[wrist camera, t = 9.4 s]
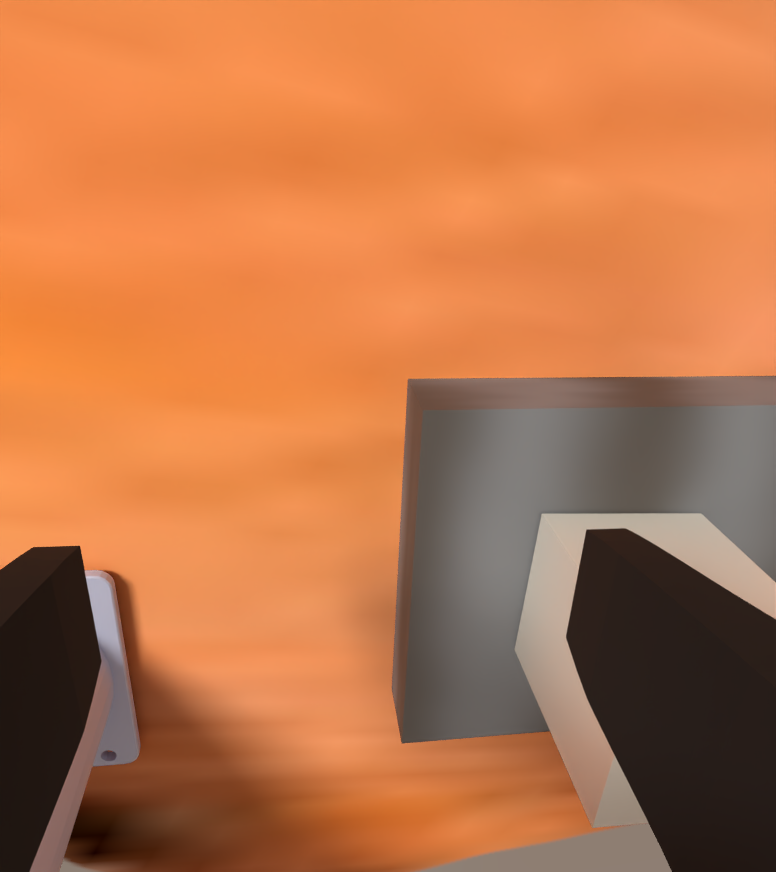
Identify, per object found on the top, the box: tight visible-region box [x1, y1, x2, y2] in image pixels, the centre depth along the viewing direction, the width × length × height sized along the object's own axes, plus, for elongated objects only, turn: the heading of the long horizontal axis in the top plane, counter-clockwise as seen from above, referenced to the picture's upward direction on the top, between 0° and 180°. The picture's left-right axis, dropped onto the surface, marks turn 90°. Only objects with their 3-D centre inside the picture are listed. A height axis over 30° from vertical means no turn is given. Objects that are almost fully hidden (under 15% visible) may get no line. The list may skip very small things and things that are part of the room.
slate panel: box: [392, 376, 776, 743], centre depth 22 cm, size 12×12×3 cm
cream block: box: [514, 513, 776, 828], centre depth 18 cm, size 5×5×6 cm
